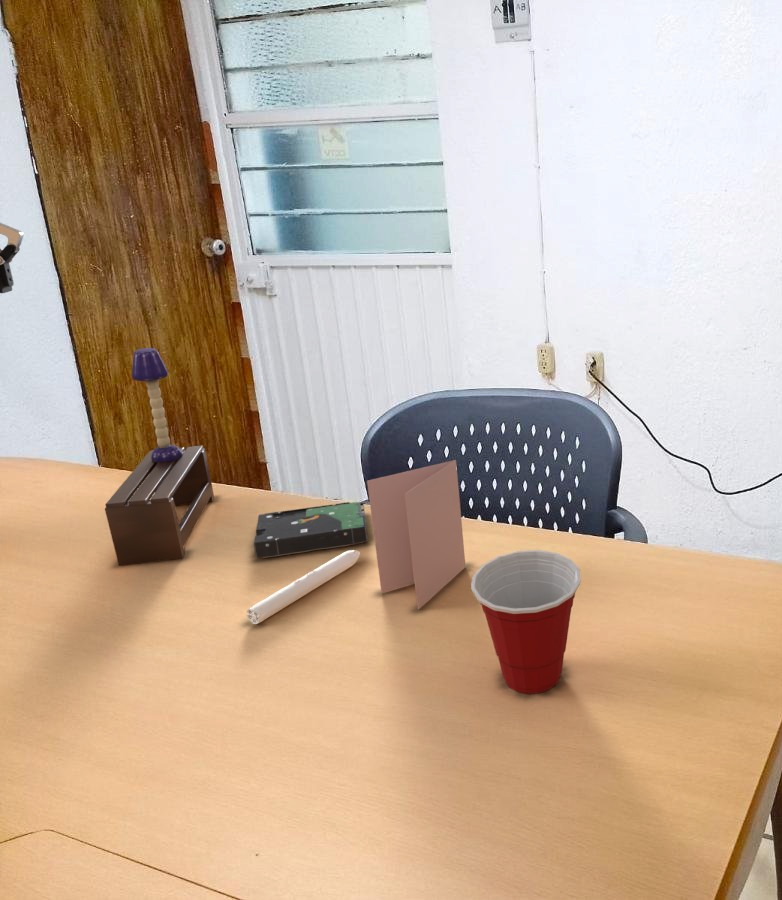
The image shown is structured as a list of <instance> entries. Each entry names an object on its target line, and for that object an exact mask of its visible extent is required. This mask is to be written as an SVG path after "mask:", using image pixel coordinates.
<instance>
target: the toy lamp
mask: <svg viewBox="0 0 782 900" xmlns="http://www.w3.org/2000/svg"><path fill="white" fill-rule="evenodd" d="M168 376H169V372H168V369H167V366H166V365H165V363H164V360H163V359H162V357H161V355H160V353H159V351H158V350H157V348H153V347H144V348H139V349H137V350H134V353H133V359H132V370H131V377H132V379H133V380H134V381H137V382H145V386H146V388H147V396H148V397H149V405H150V407H151V415H152V418H153V421H152V422H153V426H154V427H155V431H154V433H155V436H156V444H157V447H155V448H154V449H153V450H154V451H153V452H152V456H151V459H152V461H154V462H168V461H174V460H176V459H179V458H181V457H182V456H183V454H182V452H181V450H180V449H179V448H180V447H179V446H176V445H174V444H171V439H170V437H169V429H168V427H167V424H168V421H167V419H166V417H165V415H166V410H165V408H164V406H163V405H164V400H163V398H162V397H161V396H162V390H161V388H160V381H159V380H162V379H165V378H167V377H168Z"/></svg>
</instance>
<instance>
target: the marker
mask: <svg viewBox="0 0 782 900" xmlns="http://www.w3.org/2000/svg"><path fill="white" fill-rule="evenodd" d="M360 555H361V552H360V551H359V550H354V549H353V550H347V551H344V552H342V553H341V554H339V555H337V556H335V557H333V558H332V559H330V560H329V561H327V562H325V563H324V564H322V565H320V566H318V567H316V568H315V569H311V571H309V572H307V573H306V574H305V575H302V576H301V577H299V578H297V579H295V580H294V581H293V582H291V583H290V584H288V585H286V586H284V587H282V588H281V589H279V590H278V591H275V592H274V593H272V594H271V595H269V596H267V597H266V598H264V599H262V600H260V601H259V602H257V603H256V604H254V605H252V606H250V607H249V608H248V609H246V617H247V619H248V621H249V622H250V623H251V624H253V625H258V624H260V623H262V622H263V621H265V620H267V619H268V618H270V617H272V616H273V615H275V614H277V613H279V612H280V611H281V610H283V609H285V608H287V607H288V606H290V605H291V604H293V603H294V602H296V601H297V600H299V599H300V598H302V597H304V596H306V595H308V594H310V593H311V592H312V591H314V590H316V589H317V588H319V587H320V586H322V585H324V584H326V583H327V582H329V581H330V580H331V579H333V578H335V577H337V576H338V575H340V574H341V573H343V572H346V570H348V569H350V568H351V567H353V566H354V565H355V564H356V563H357V561H358V560H359V558H360Z"/></svg>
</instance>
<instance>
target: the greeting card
mask: <svg viewBox="0 0 782 900" xmlns="http://www.w3.org/2000/svg"><path fill="white" fill-rule="evenodd" d="M366 483H367V484H366V485H367V493H368V500H369V507H370V513H371V524H372V529H373V537H374V545H375V553H376V561H377V569H378V576H379V584H380V591H381V594H383V593H387V592H391V591H395V590H397V589H401V588H403V587H406V586H409V585H413V584H414V589H415V597H416V598H415V599H416V606H417V610H418V611H419V610H420V609H422V607H423V606H424V605H425V604H427V603H428V602H429V601H430V600H431V599H432V598H433V597H434V596H436V594H437V593H439V592H440V591H441V590H442V589H443V588H444V587H445V586H447V584H449V583H450V582H451V581H453V579H454V578H456V577H457V576H458V575H459V574H460V573H461V572H462V571H463V570H464V569H466V567H467V566H466V555H465V545H464V534H463V533H464V531H463V521H462V512H461V499H460V489H459V477H458V466H457V460H456V459H454V460H449V461H445V462H440V463H436V464H433V465H428V466H424V467H420V468H416V469H410V470H407V471H403V472H398V473H395V474H390V475H386V476H381V477H377V478H373V479H369V480H366Z"/></svg>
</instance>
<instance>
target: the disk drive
mask: <svg viewBox="0 0 782 900" xmlns="http://www.w3.org/2000/svg"><path fill="white" fill-rule="evenodd" d="M366 520H367V518H366V511H365V504H364V502H363V501H351V502H350V501H348V502H347V501H346V502H340V503H335V504H326V505H319V506H312V507H304V508H297V509H296V508H295V509H288V510H283V511H272V512H267V513H262V514H259V515H258V517H257V523H256V527H255V528H256V529H255V536H254V539H253V547H254V552H255V556H256V558H257V559H260V558H263V559H266V558H272V557H279V556H286V555H291V554H292V555H293V554H294V555H295V554H300V553H305V552H311V551H315V550H316V551H318V550H325V549H332V548H341V547H346V546H351V545H358V544H363V543H366V542H369V537H368V528H367V521H366Z"/></svg>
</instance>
